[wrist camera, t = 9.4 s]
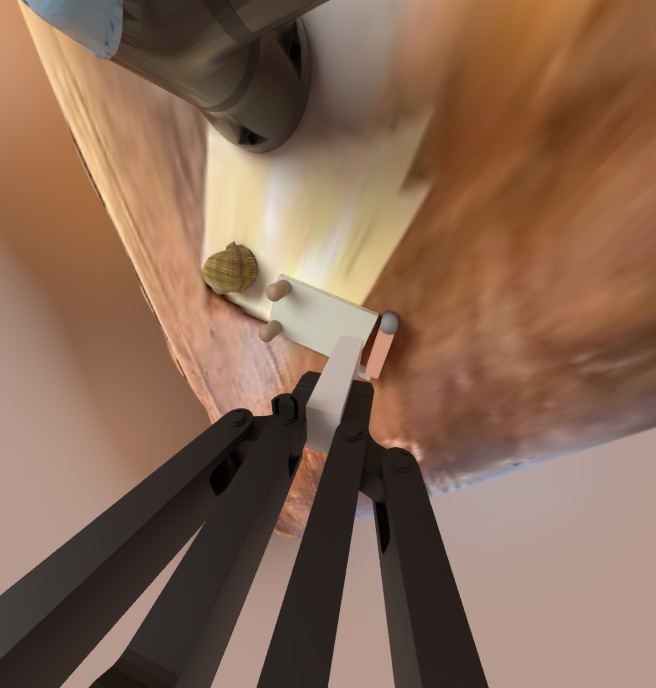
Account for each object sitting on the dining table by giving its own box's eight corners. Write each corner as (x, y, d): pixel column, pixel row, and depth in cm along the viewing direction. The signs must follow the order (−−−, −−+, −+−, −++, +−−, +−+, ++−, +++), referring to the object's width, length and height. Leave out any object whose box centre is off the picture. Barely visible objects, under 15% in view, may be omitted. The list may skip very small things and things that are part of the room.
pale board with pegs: (270, 330, 47) (255, 342, 42) (282, 273, 41) (266, 281, 36) (370, 373, 45) (366, 391, 40) (398, 321, 39) (397, 335, 34)
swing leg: (384, 309, 38) (383, 317, 35) (400, 313, 38) (400, 321, 35) (366, 364, 44) (363, 375, 41) (379, 368, 44) (378, 379, 41)
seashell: (251, 244, 44) (205, 229, 39) (267, 254, 40) (217, 238, 34) (240, 293, 48) (196, 285, 42) (252, 307, 43) (205, 300, 38)
